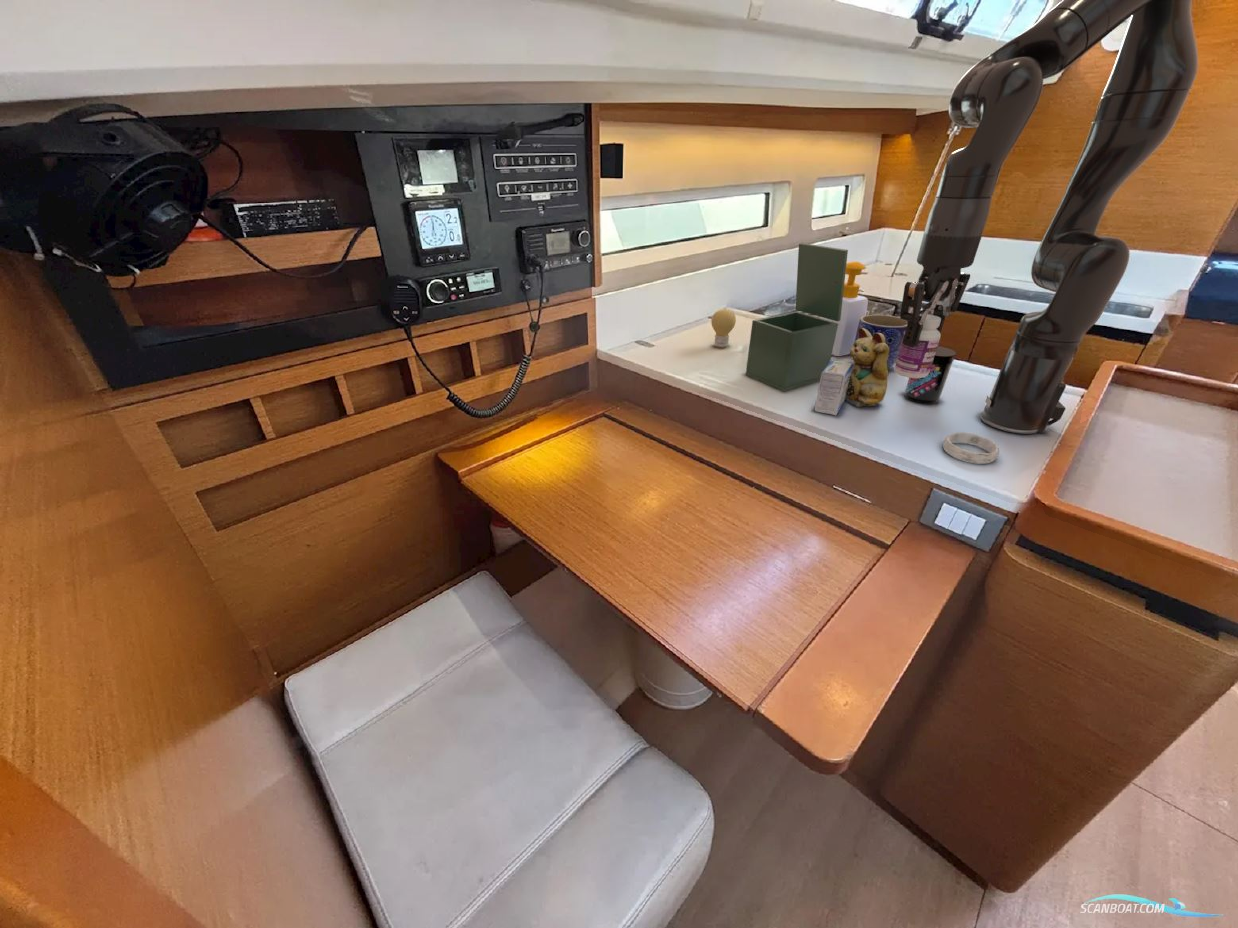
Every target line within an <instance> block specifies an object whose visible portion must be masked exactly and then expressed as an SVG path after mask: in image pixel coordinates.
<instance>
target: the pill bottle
mask: <svg viewBox="0 0 1238 928" xmlns="http://www.w3.org/2000/svg"><path fill="white" fill-rule="evenodd" d="M920 315H921V313H920ZM940 322H941V318H940V317H938V316H934V315H931V314H928V315H927V317H926V319H925V321H924V323H923V324H924V325H923V328H922V331H921V335H920V338H919V342H918V345H917V346H915V347H909V346H906V345H903V343H901V347H900V350H899V354H898V357H897V361H896V364H895V365H894V368H893V369H894V372H895V374H896V375H899V376H901V377H904V378H908V379H909V378H923V377H926V376H927V375H928V374H929V371H930V368H931V365H932V362H933V359H934V356H935V353H936V350H937V347H938V346H939V343H940V340H941V336H942V335H941V333H940V332H939V331H938V330H937V329H936V328H938V327H939V326H940ZM904 334H905V332H904ZM903 338H904V335H903ZM902 341H903V339H902Z"/></svg>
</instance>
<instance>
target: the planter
mask: <svg viewBox="0 0 1238 928" xmlns="http://www.w3.org/2000/svg"><path fill="white" fill-rule="evenodd" d="M906 327H907V321H905V320H902V319H900V316H895V315H891V314H890V315H888V314H866V315H865V316H862V317H861V318H860V320H859V324H858V328H857V332H856V336H855V341H856V340H858V339H859V329H860V328H864V329H866V330H867V331H868V332H869V333H870V334H871V335H872V337H873V335H874V334H875V333H881V334H883V335H884V337H885V343H886V344H887V345H888V347H889V354H888V359H887V370H889V369H891V368H893V367H895V364H896V361H897V357H898V354H899V350H900V347H901V343H902V339H903V335H904V332H905V331H906ZM855 341H854V343H855Z"/></svg>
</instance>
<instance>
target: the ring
mask: <svg viewBox="0 0 1238 928" xmlns="http://www.w3.org/2000/svg"><path fill="white" fill-rule="evenodd" d="M955 443H957V444H966V445H970V446H971V445H972V446H975V447H978V448H981V449H982V450H985V451H986V452H975V451H972V450H967V449H964V448H961V447H959V446H957V445H956V444H955ZM942 446H943V447H942V448H943V449H944V451H945V452H946V453H947V454H948V455H949V456H951V457H952V458H955V459H957V460H960V461H963V462H967V463H970V464H979V465H982V464H983V465H986V464H990V463H992V462H994V461H996V459H997V458H998V457H999V455H1000V448H999V446H998V444H996V443H995V442H994V441H993V440H991V439H989V438H987V437H984V436H981V435H978V434H975V433H969V432H953V433H950V434H949V435H947V436H946V437H944V440H943V443H942Z"/></svg>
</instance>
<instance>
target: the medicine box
mask: <svg viewBox="0 0 1238 928" xmlns="http://www.w3.org/2000/svg"><path fill="white" fill-rule="evenodd" d="M852 367H853V364H852V362H849V361H841V360H834V359H833V360H832V359H831V360H830V363H829V364H828V366H827V367H826V368H825V370H824V371H823V372H822V375H821V379H820V381H819V385H818V389H817V395H816V400H815V405H814V411H815V412H817V413H821V414H827V415H831V416H837V415H838V414H839V412H840V411H841V408H842V406H843V405H844V403H845V401H846V400H845V396H846V392H847V388H848V384H849V379H850V375H851V371H852Z"/></svg>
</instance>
